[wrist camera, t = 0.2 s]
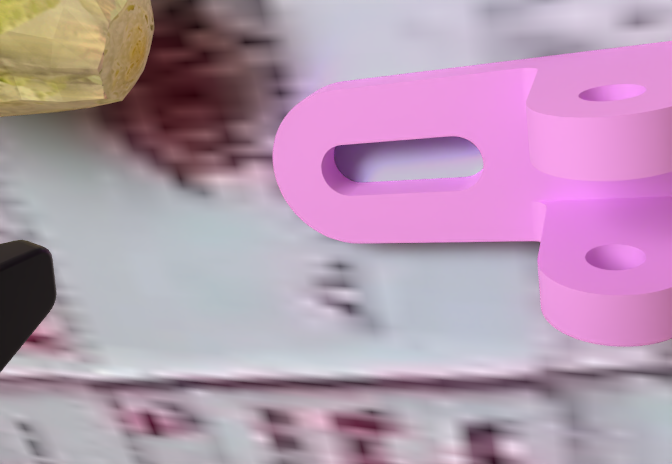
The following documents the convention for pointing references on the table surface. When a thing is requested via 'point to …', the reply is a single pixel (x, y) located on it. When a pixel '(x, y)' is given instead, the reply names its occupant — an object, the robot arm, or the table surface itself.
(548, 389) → the table surface
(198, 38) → the table surface
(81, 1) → the lettuce
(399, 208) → the bracket
